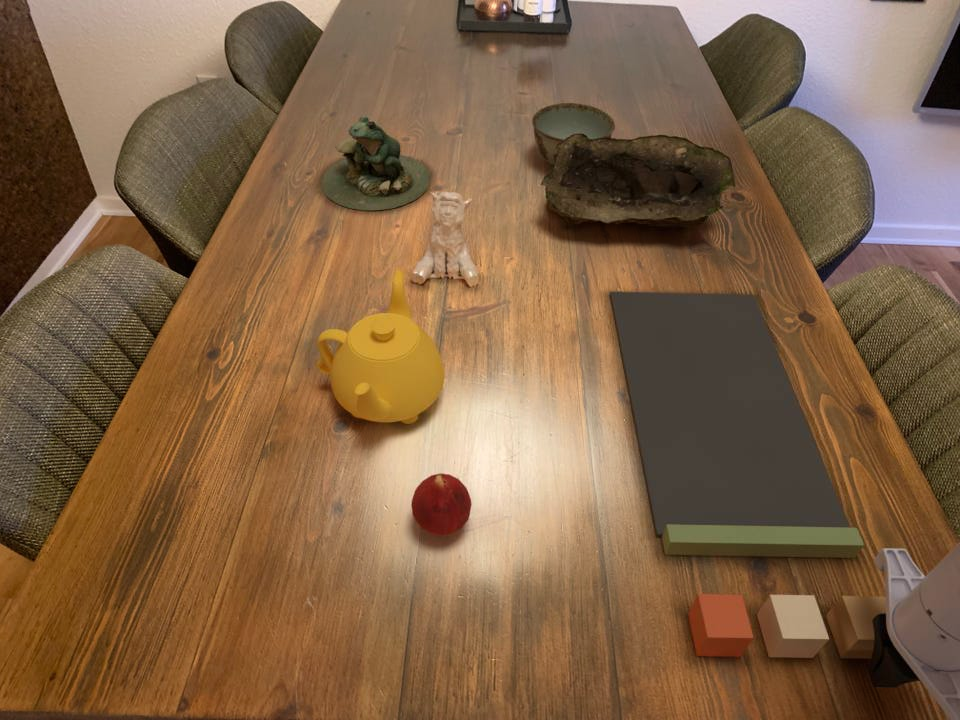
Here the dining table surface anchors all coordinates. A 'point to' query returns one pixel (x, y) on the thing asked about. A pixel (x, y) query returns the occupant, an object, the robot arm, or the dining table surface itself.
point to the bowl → (568, 126)
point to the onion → (441, 504)
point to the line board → (724, 432)
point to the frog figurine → (373, 171)
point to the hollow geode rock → (637, 180)
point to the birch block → (855, 624)
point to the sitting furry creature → (447, 243)
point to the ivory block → (792, 626)
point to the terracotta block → (720, 625)
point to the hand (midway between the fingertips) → (881, 679)
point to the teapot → (384, 364)
